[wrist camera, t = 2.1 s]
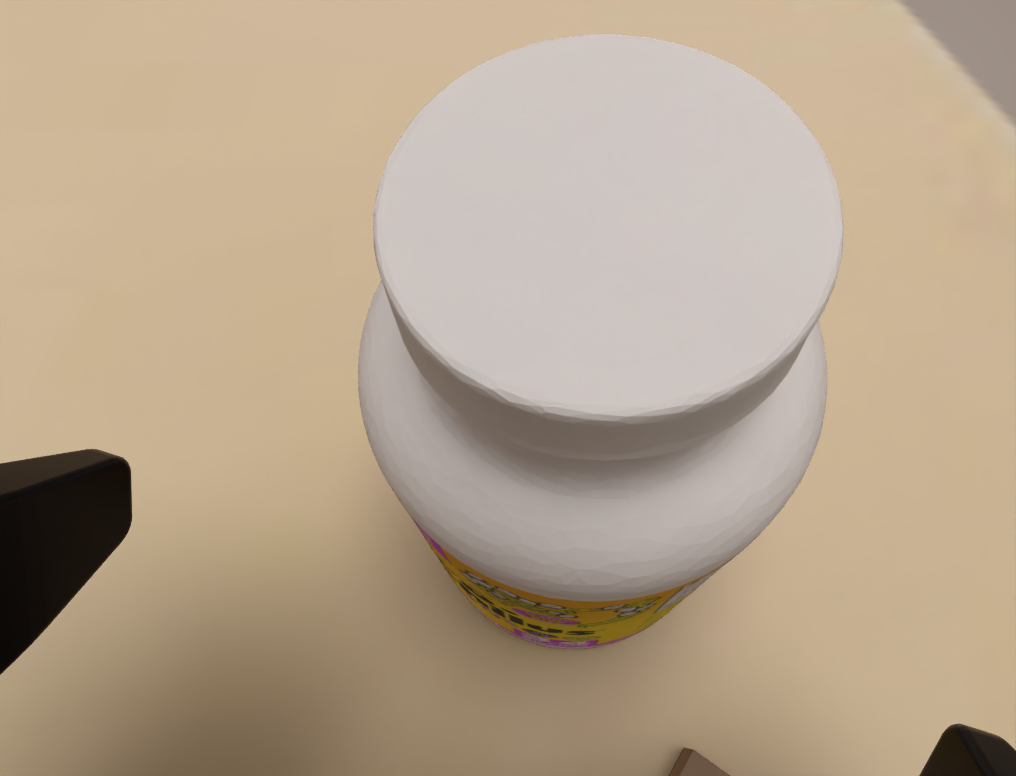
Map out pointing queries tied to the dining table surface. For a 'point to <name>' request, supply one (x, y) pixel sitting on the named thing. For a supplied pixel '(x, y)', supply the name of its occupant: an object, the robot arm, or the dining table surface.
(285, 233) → the dining table surface
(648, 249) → the supplement bottle
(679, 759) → the seat plate
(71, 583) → the robot arm
